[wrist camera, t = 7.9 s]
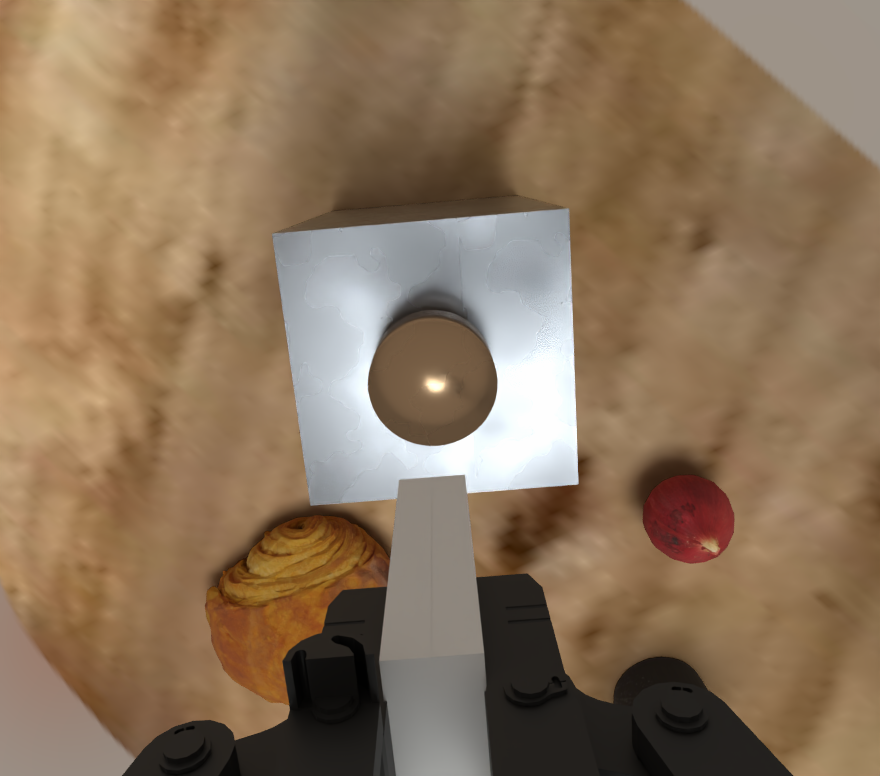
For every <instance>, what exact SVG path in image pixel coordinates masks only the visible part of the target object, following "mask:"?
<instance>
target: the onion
mask: <svg viewBox="0 0 880 776" xmlns="http://www.w3.org/2000/svg"><path fill="white" fill-rule="evenodd" d="M643 524H644V528H645V530H646V532H647V534H648V536H649V538H650V540H651V542H652V543H653V544H654V546H655V547H656V548H657V549H659V550H660V551H662V552H663V553H664V554H666V555H667V556H669V557H670V558H672V559H674V560H678V561H682V562H685V563H690V564H691V563H701V562H706V561H708V560H711V559H713V558H716V557H718V556H719V555H720V554H721V553H722V552H723V551H724V550H725V549H726V548H727V546H728V544H729V542H730V540H731V537H732V535H733V533H734V512H733V510H732V507H731V504H730V501H729V499H728V497H727V496H726V494H725V493H724V492H723V491H722V490H721V489H720V488H719V487H718V486H717V485H716V484H715V483H714V482H712V481H709V480H707V479H704V478H701V477H698V476H696V475H678V476H674V477H671V478H669V479H666V480H664V481H662V482H661V483H660V484H659V485H657V486H656V487H655V488H654V489H653V490H652V491H651V493H650V495H649V497H648V499H647V500H646V502H645V504H644V506H643Z"/></svg>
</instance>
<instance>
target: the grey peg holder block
mask: <svg viewBox="0 0 880 776" xmlns="http://www.w3.org/2000/svg"><path fill="white" fill-rule="evenodd" d="M272 237H273V244H274V251H275V258H276V265H277V272H278V280H279V287H280V294H281V301H282V308H283V315H284V322H285V329H286V336H287V343H288V350H289V357H290V364H291V371H292V378H293V385H294V392H295V399H296V406H297V414H298V421H299V428H300V435H301V442H302V449H303V456H304V463H305V470H306V477H307V484H308V491H309V498H310V505H311V506H313V505H325V504H338V503H350V502H362V501H375V500H387V499H397V494H398V485H399V480H402V479H415V478H427V477H440V476H452V475H465V479H466V488H467V493H475V492H487V491H500V490H512V489H525V488H537V487H550V486H562V485H575V484H578V460H577V430H576V401H575V371H574V342H573V312H572V283H571V254H570V224H569V208H565V207H561V206H557V205H553V204H550V203H546V202H542V201H538V200H534V199H530V198H526V197H522V196H518V195H514V196H502V197H491V198H479V199H467V200H455V201H444V202H432V203H420V204H408V205H397V206H385V207H373V208H362V209H350V210H338V211H331V212H328V213H326V214H323V215H320V216H318V217H315V218H312V219H310V220H307V221H304V222H302V223H299V224H296V225H294V226H291V227H289V228H286V229H283V230H281V231H278V232H275V233H273V234H272ZM424 310H441V311H447V312H451V313H454V314H456V315H459V316H461V317H462V318H464V319H466V320H467V321H469V322H470V323H471V324H473V325H474V326H475V327H476V328H477V329H478V330H479V332H480V333H481V334H482V335H483V337H484V339H485V340H486V342H487V344H488V347H489V349H490V352H491V355H492V358H493V361H494V364H495V368H496V371H497V379H498V388H497V395H496V399H495V403H494V405H493V408H492V410H491V412H490V414H489V415H488V417H487V419H486V420H485V421H484V422H483V424H482V425H481V426H480V427H479V428H478V429H477V430H476V431H474V432H473V433H472V434H470V435H469V436H467V437H465V438H464V439H462V440H459V441H457V442H454V443H451V444H447V445H441V446H425V445H419V444H414V443H411V442H409V441H406V440H404V439H402V438H400V437H398V436H397V435H395V434H394V433H392V432H391V431H390V430H389V429H388V428H387V427H385V425H384V424H383V423H382V422H381V421H380V419H379V418H378V416H377V415H376V413H375V411H374V409H373V407H372V404H371V401H370V398H369V392H368V374H369V370H370V365H371V362H372V359H373V356H374V353H375V350H376V348H377V345H378V343H379V341H380V339H381V337H382V336H383V335H384V333H385V332H386V331H387V330H388V329H389V328H390V327H391V326H392V325H393V324H394V323H395V322H397V321H398V320H400V319H401V318H403V317H405V316H407V315H409V314H412V313H415V312H418V311H424Z"/></svg>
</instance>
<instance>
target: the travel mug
mask: <svg viewBox="0 0 880 776" xmlns="http://www.w3.org/2000/svg"><path fill="white" fill-rule="evenodd" d="M668 682H679V683H686V684H693V685H695V686H698V687H700V688H703V689H705V690H707V688H706V686H705V685H704V683H703V681H702V680H701V678H700V677H699V675H698V674H697V673H696V672H695V670H694V669H693V668H691V667H690V666H689V665H687V664H686V663H684V662H682V661H680V660H677V659H673V658H667V657H657V658H651V659H647V660H644V661H641V662H639V663H637V664H635V665H634V666H632V667H631V668H629V669H628V670H627V671H626V672H625V673H624V674H623V675H622V677H621V678H620V680H619V681H618V683H617V685H616V688H615V692H614V704H619V705H625V706H632V707H633V700H634V699H635V698H636V696H637V695H638V694H639V693H640V692H641V691H642V690H643V689H645V688H648V687H650V686H652V685H655V684H658V683H668Z"/></svg>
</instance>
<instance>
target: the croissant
mask: <svg viewBox="0 0 880 776" xmlns="http://www.w3.org/2000/svg"><path fill="white" fill-rule="evenodd" d="M264 535H265V537H264V539H262V540H261V541H260V542H259V543H257V544H256V545H255V546H254V547H253V548H252V549H251V551H250V552H249V555H248V558H246V559H243V560H241V561H238V563H237V564H236V565H235V566H234V567H232V568H228V571H223V576H222V577H221V578H220V582H219V585H218V588H216V587H214V586H213V587H211V588H210V589H209V590H208V591H207V596H206V604H205V611H206V617H207V620H208V623H209V625H210V628H211V639H212V644H213V647H214V649H215V651H216V653H217V656H218V658H219V660H220V661H221V663H222V666H223V669H224V670H225V672H226V673H227V674H228V675H229V676H230V677H231V678H232V680H234V681H235V682H237V683H238V684H240V685H241V686H243V687H245V688H247V689H249V690H250V691H252V692H254V693H255V694H257V695H259V696H261V697H262V698H264V699H265V700H267V701H269V702H271V703H284V704H286V705H289V700H288V694H287V688H286V682H285V676H284V669H283V663H282V661H283V659H284V657H285V656H286V654H287V652H288V651H289V650H290V649H291V648H292V647H294V646H295V645H296V644H297V643H299V642H300V641H301V640H304V639H306V638H308V637H311V636H313V635H315V634H319V633H322V629H323V627H324V621H325V617H326V613H327V609H328V606H329V604H330V603H331V602H332V601H333V600H334V599H335V598H336V597H337V596H338V595H339V593H340V592H341V591H342V590H348V589H361V588H374V587H387V585H388V576H389V567H390V559H389V557H388V556H387V554H386V553H385V551H384V549H383V548H382V547H381V546H380V545H379V544H378V543H377V542H376V541H375V540H374V539H373V538H372V537H370V536H369V535H368V534H367V533H366V532H365V531H364V529H362V528H360V527H358V526H357V525H356V524H351V523H350V522H349V521H347V520H346V519H343V518H338V517H335V516H322V515H315V516H313V517H299V518H295V519H293V520H291V521H289V522H286V523H283V524H281V525H279V526H277V527H276V528H274V529H273V530H272V531H266V532H265V534H264Z"/></svg>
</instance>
